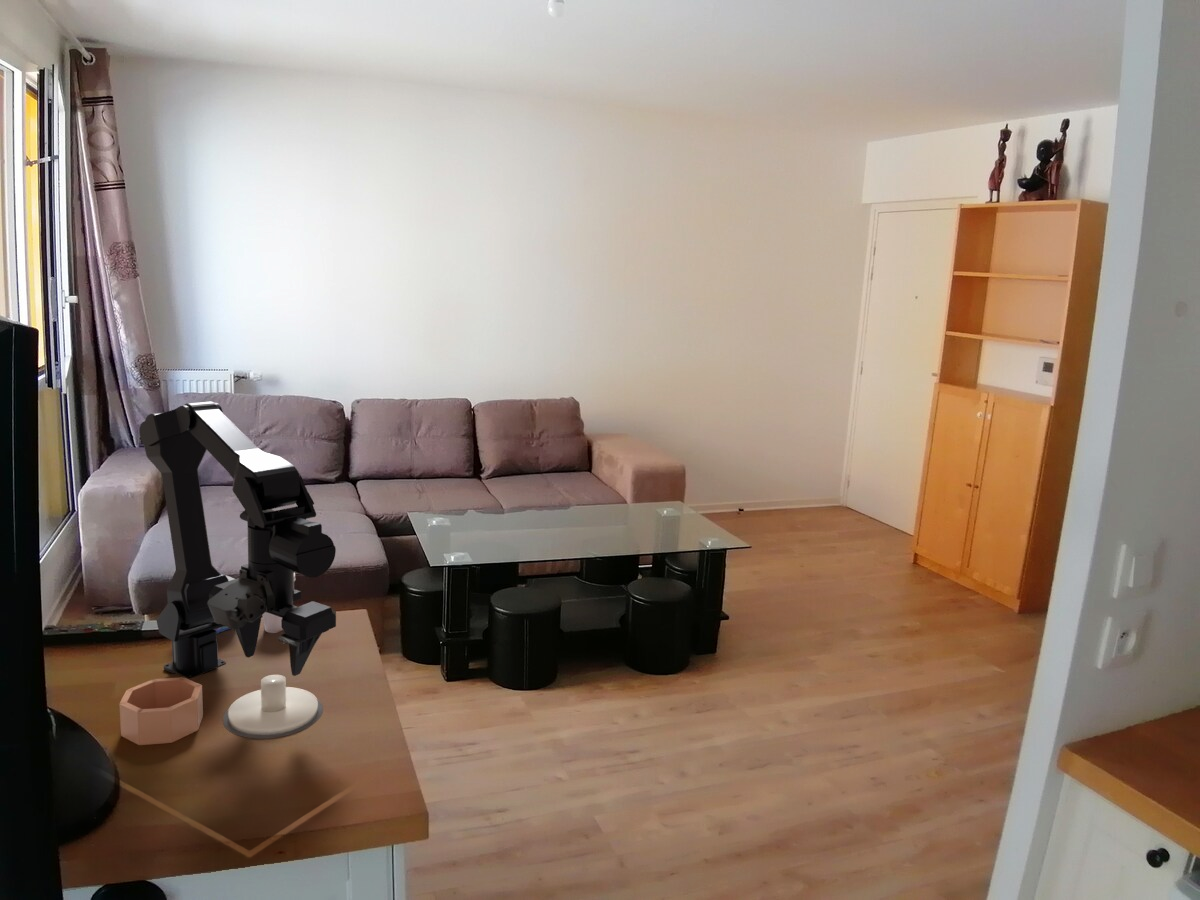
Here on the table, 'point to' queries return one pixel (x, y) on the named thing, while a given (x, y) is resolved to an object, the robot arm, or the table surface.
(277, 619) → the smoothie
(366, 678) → the table surface
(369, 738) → the table surface
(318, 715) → the mat
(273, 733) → the lid
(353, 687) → the table surface
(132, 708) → the bowl
